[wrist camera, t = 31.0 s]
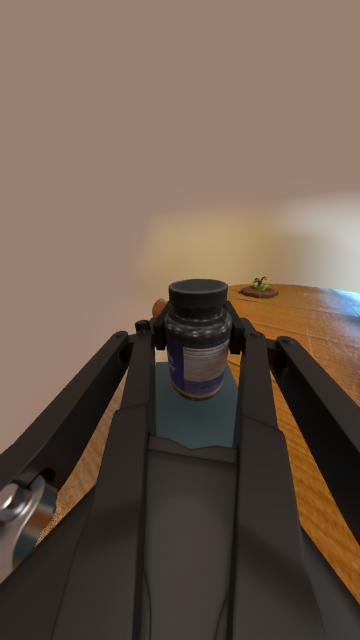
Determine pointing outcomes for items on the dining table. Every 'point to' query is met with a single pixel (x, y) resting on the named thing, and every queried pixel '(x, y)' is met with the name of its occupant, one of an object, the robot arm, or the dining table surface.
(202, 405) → the cabinet
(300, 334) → the dining table surface
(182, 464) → the robot arm
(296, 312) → the dining table surface
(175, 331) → the pill bottle
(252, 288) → the plant
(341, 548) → the dining table surface
